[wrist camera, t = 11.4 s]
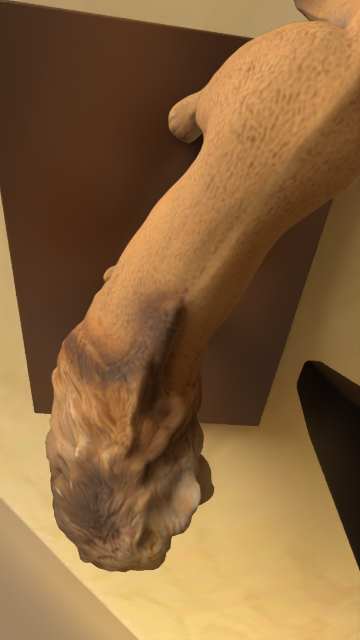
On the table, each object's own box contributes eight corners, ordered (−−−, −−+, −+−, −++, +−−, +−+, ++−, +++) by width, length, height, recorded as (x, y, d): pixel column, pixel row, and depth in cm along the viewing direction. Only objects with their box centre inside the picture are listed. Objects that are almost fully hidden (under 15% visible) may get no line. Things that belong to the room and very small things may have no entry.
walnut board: (359, 64, 11) (380, 57, 10) (253, 410, 19) (259, 426, 17) (-11, 8, 10) (-32, -7, 9) (42, 397, 18) (33, 413, 17)
